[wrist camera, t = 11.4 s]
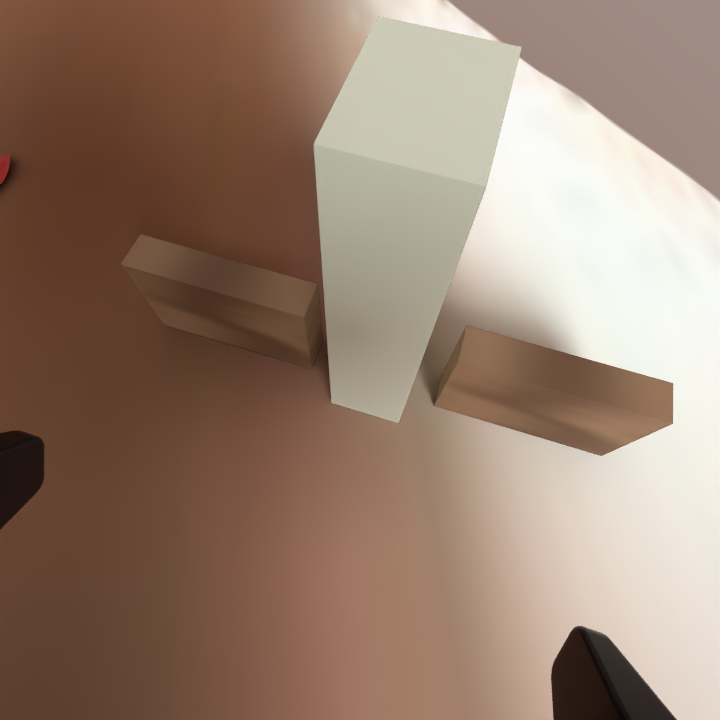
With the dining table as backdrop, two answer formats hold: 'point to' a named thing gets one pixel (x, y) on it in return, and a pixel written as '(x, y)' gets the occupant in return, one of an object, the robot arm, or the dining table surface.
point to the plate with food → (4, 167)
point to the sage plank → (402, 198)
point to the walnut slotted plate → (460, 378)
